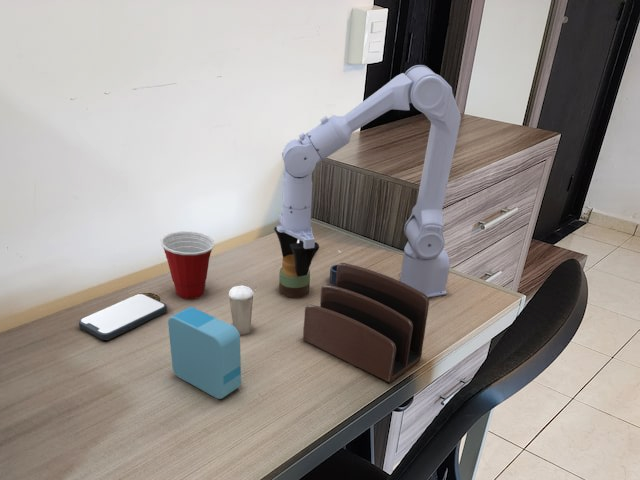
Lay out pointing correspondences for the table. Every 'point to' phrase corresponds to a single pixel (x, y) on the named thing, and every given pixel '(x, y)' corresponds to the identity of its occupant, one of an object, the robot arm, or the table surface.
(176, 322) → the data package
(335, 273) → the small cup
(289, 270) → the orange short cylinder
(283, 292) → the walnut chip
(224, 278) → the table surface
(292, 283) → the sage chip
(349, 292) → the letter holder
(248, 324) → the milkshake
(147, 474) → the table surface
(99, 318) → the smartphone
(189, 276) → the plastic cup
